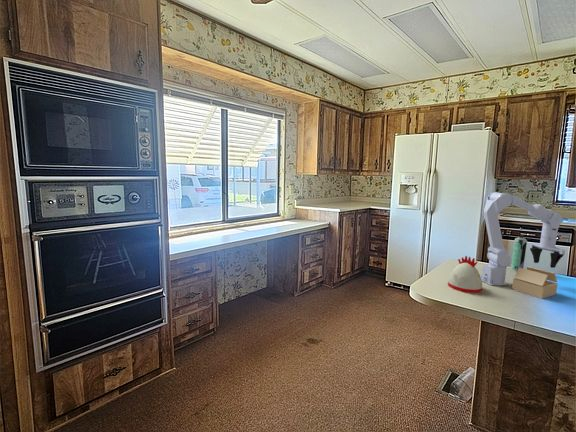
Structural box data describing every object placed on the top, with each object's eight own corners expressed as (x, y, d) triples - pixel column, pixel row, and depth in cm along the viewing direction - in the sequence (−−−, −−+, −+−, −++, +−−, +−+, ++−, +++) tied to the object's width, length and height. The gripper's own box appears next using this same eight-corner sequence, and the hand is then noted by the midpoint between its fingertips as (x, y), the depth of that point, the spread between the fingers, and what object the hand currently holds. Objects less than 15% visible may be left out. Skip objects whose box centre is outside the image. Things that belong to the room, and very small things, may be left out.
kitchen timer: (473, 295, 138) (477, 262, 136) (442, 285, 149) (445, 254, 147) (487, 289, 146) (490, 257, 144) (456, 280, 157) (460, 250, 155)
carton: (541, 298, 136) (543, 287, 135) (511, 288, 146) (513, 278, 146) (556, 294, 141) (557, 283, 141) (526, 285, 152) (527, 275, 151)
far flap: (528, 274, 151) (529, 274, 151) (556, 282, 141) (557, 281, 141) (526, 266, 149) (526, 265, 149) (554, 273, 139) (555, 273, 139)
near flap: (542, 286, 135) (542, 285, 135) (514, 278, 145) (514, 277, 145) (547, 275, 136) (547, 274, 136) (519, 267, 146) (519, 267, 146)
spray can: (524, 272, 172) (529, 236, 169) (513, 271, 173) (518, 235, 171) (519, 269, 178) (524, 234, 175) (509, 268, 179) (513, 233, 176)
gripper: (571, 240, 143) (567, 269, 145) (539, 233, 157) (535, 260, 159) (560, 240, 141) (555, 270, 143) (528, 234, 155) (524, 260, 157)
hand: (544, 265), depth 151 cm, fingers open, 7 cm apart
